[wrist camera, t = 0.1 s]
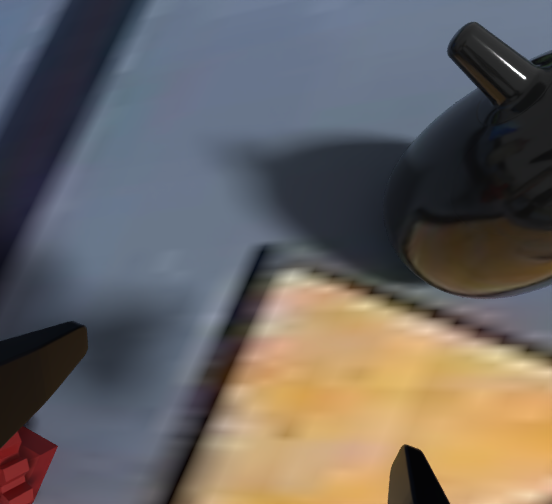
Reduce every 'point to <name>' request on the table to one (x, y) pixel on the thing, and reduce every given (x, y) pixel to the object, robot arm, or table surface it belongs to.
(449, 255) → the dark grey rounded cone
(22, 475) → the red cog wheel
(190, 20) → the table surface
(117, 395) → the table surface
